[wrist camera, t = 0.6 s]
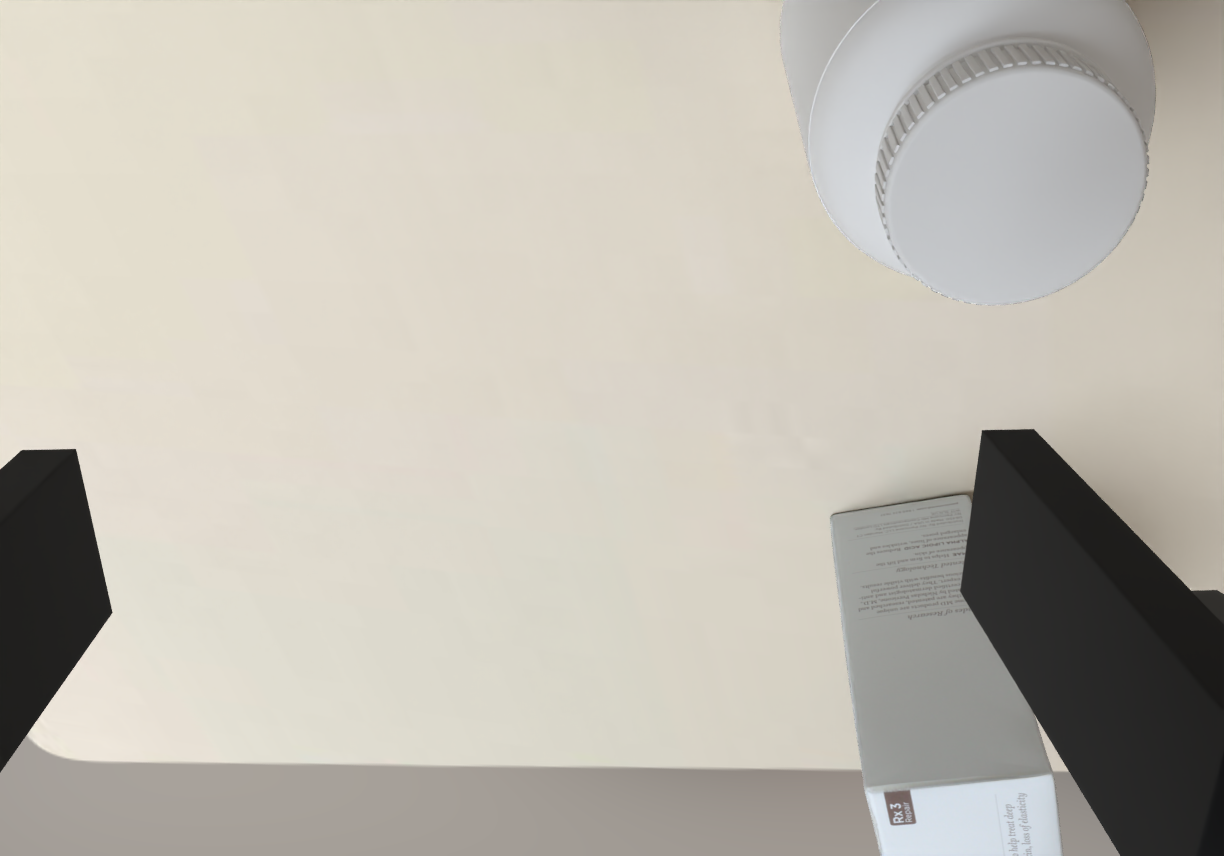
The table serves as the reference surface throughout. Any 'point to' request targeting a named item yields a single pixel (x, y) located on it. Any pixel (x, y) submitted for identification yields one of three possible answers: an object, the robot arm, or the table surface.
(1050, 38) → the pill bottle
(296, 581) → the table surface
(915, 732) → the cosmetic box
